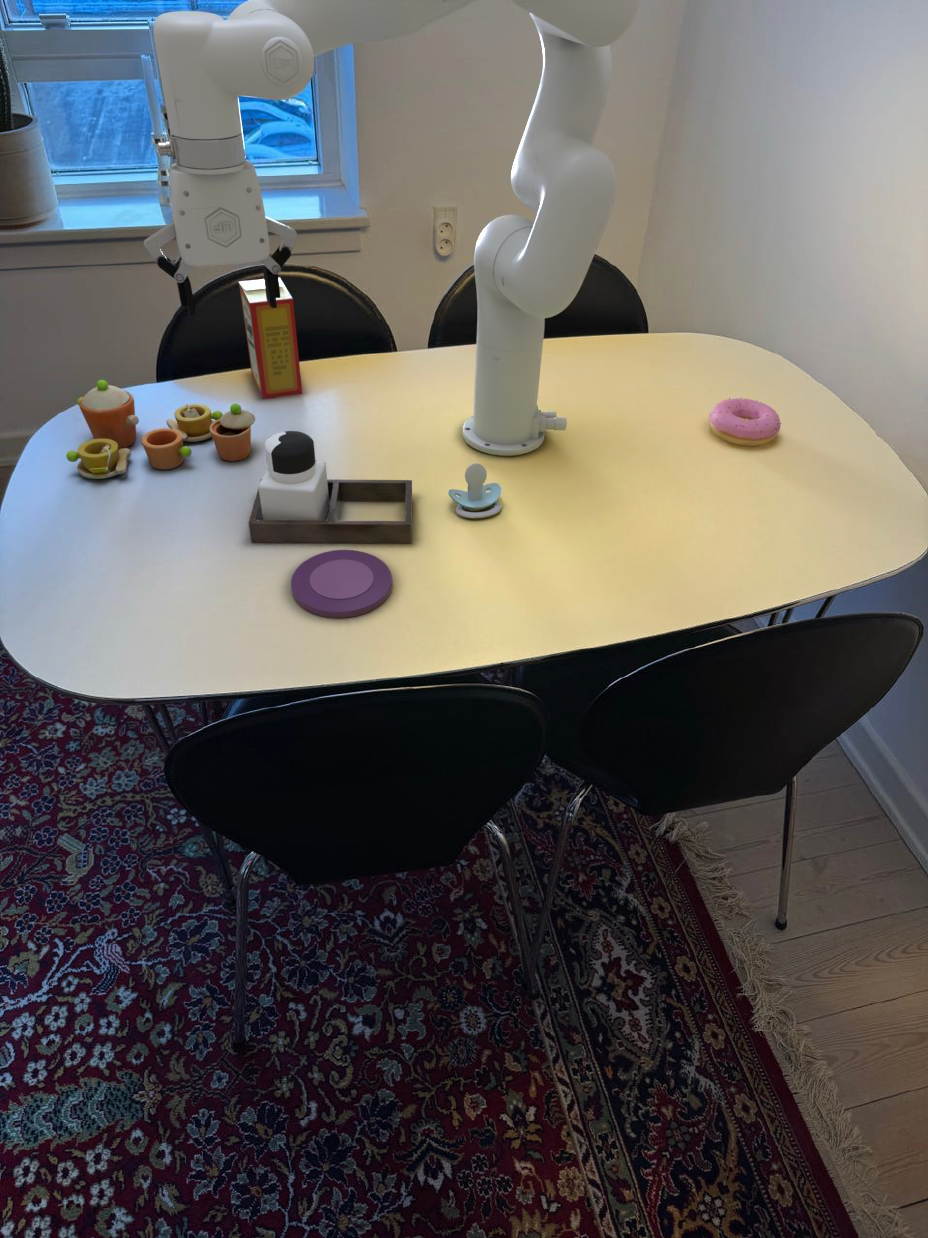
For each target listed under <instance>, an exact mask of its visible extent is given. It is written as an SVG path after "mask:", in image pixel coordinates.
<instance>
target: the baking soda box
mask: <svg viewBox="0 0 928 1238" xmlns="http://www.w3.org/2000/svg"><path fill="white" fill-rule="evenodd" d="M278 278H279V287H280V298H276V304H277V308H272V307H270V305H269V303H268V301H267V298H266V290H265V282H264V278H262V279H261V278H260V279H251V280H241V281H238V285H239V286H238V287H239V293H240V300H241V307H242V314H243V315H242V316H243V321H244V328H245V337H246V342H247V349H248V357H249V358H248V359H249V364H250V372H251V376H252V378H253V380H254V382H255V385H256V387H257V389H258V392H259V394H260V396H261V398H262V400H265V399H271V398H272V399H273V398H279V397H287V396H294V395H300V394H303V387H302V376H301V367H300V357H299V346H298V336H297V328H296V326H297V325H296V317H295V308H294V298H293V297H292V295H291V293H290V292H289V290H288V289H287V287H286V285H285V284H284V282H283V280H282V279H281V277H278Z"/></svg>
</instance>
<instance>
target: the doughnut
mask: <svg viewBox="0 0 928 1238" xmlns="http://www.w3.org/2000/svg"><path fill="white" fill-rule="evenodd" d="M708 419H709V421H708V423H709V426H710V429H711V430H712V432H713V433H714V434H715V435H716V436H717V437H718V438H720V439H722V440H723V441H726V442H729V443H730V444H733V445H739V446H746V447H754V446H762V445H764V444H767V443H769V442H771V441H772V440H774V439H775V438H776V436H777V435H778V433H779V432H780V430H781V425H782V422H781V419H780V416H779V414H778V412H777V411H776V410H775V409H774V408H772V407H771V406H770V405H767V404H766V403H764V402H762V401H758V400H754V399H749V398H742V396H741V397H740V398H739V397H738V398H735V397H734V398H731V397H728V399H724V400H721V401H720V402H718V403H716V404H715V406H714V407H713V408H712V409H711V411H710V412H709V415H708Z"/></svg>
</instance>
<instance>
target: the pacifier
mask: <svg viewBox="0 0 928 1238" xmlns="http://www.w3.org/2000/svg"><path fill="white" fill-rule="evenodd" d="M487 477H488V472H487V469H486V467H485V466H484V465H483V464H481V463H479V462H473V463H471V464H469V465H468V466H467V467H466V469H465V472H464V479H465V482H466V484H467V490H462V489H458V488H457V489H456V488H451V489H448V493H447V494H448V496H449V497H450V498H451V499H452V501H454V502H455V503H456V504H458V505H456V507H455V512H456V514H457V515H459V516H460V517H462V518H466V519H484V518H485V519H486V518H489V517H492V516H495V515H496V514H498V513H499V512H501V510H502V508H503V505H502V504H501V502H499V501H498V500H499V499H500V497H501V494H502V487H501V484H499V483H496V482H490V483H486V484H485V482H486V480H487ZM487 491H489V492H487ZM490 506H493V508H490V509H489V510H485V509H486V508H488V507H490ZM481 510H482V511H481ZM483 510H485V511H483ZM476 511H478V512H476ZM479 511H480V512H479Z"/></svg>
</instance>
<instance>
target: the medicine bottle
mask: <svg viewBox="0 0 928 1238" xmlns="http://www.w3.org/2000/svg"><path fill="white" fill-rule="evenodd" d="M264 452H265V459H266V466H267V467H266V471H265V472H264V474H263V477H262V478H261V479H262V480H261V479H260V480H261V482H260V481H259V484H258V486H257V487H258V488H259V495H260V501H261V508H262V515H263V520H317V521H325V519H326V517H327V514H328V513H329V507H330V501H329V494H328V482H327V479H328V472H327V463H326V462H325V461H321V460H316V452H315V442H314V440H313V438H312V437H311V436H310V435H309V434H307V433H306V432H301V431H298V430H297V431H296V430H286V431H279V432H276V433H274V434H272V435H270V437H269V436H268V438H267V439H266V441H265V443H264ZM258 488H257V489H258Z"/></svg>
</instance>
